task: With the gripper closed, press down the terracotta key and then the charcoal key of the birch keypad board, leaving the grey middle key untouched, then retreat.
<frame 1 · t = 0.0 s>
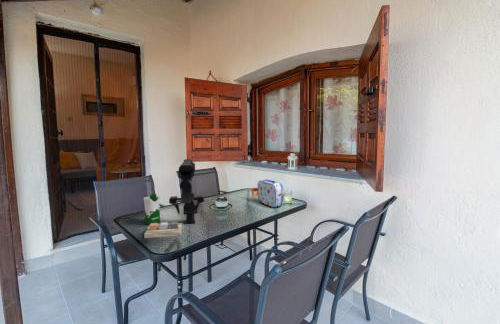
hand: (187, 214, 141), 15 cm above the table, fingers open, 9 cm apart
key grey: (164, 226, 152), point 4 cm above the table, slide at 0.0 cm
key terracotta: (153, 227, 151), point 4 cm above the table, slide at 0.0 cm
keypad board: (164, 232, 152), on the table
milk carton: (152, 223, 168), on the table
key charcoal: (174, 225, 153), point 4 cm above the table, slide at 0.0 cm
lunch box: (270, 205, 211), on the table
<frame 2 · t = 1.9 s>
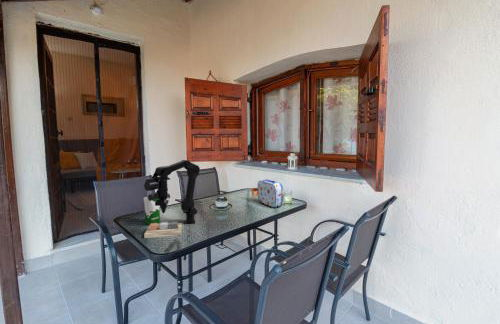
hand: (163, 213, 151), 12 cm above the table, fingers closed
nothing on the table moved.
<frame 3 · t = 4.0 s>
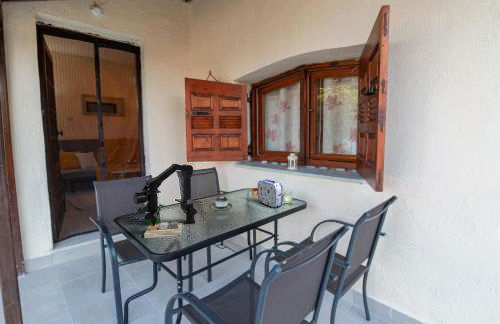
hand: (153, 226, 151), 4 cm above the table, fingers closed, pressing on key terracotta
key terracotta: (153, 228, 151), point 3 cm above the table, slide at 1.0 cm, touching gripper
everything else where it was.
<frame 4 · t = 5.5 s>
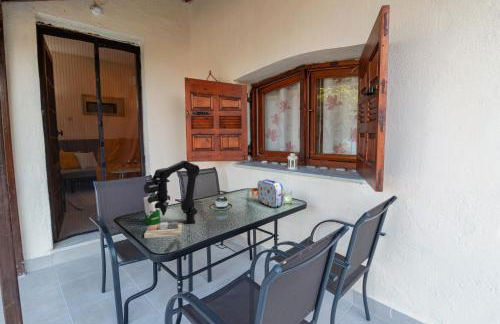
hand: (163, 215, 151), 11 cm above the table, fingers closed
key terracotta: (153, 229, 151), point 2 cm above the table, slide at 1.5 cm
everything else where it was.
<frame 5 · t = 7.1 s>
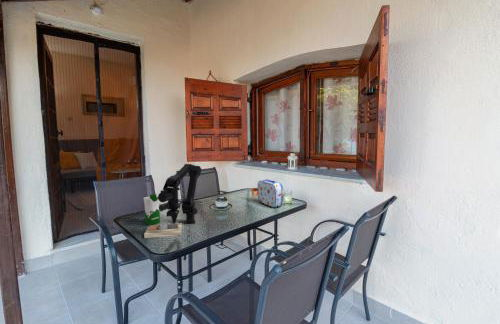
hand: (174, 223, 153), 5 cm above the table, fingers closed, pressing on key charcoal
key charcoal: (174, 225, 153), point 4 cm above the table, slide at 0.1 cm, touching gripper
everything else where it was.
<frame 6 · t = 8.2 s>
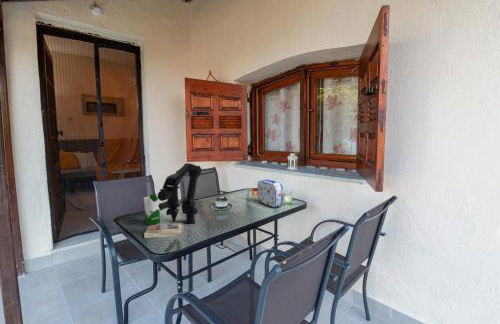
hand: (173, 221, 153), 6 cm above the table, fingers closed
key charcoal: (174, 228, 153), point 2 cm above the table, slide at 1.5 cm
everything else where it was.
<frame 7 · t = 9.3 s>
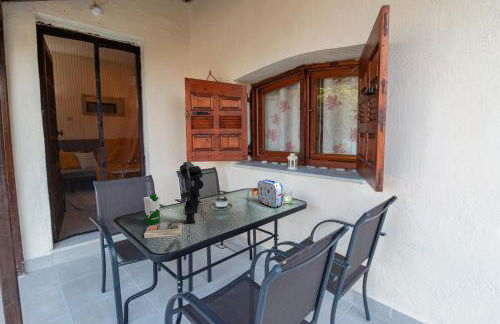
hand: (195, 210, 156), 12 cm above the table, fingers closed
nothing on the table moved.
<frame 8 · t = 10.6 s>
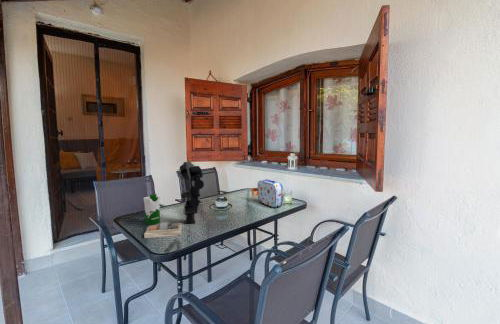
hand: (195, 210, 156), 12 cm above the table, fingers closed
nothing on the table moved.
at the end: key terracotta slide at 1.5 cm; key charcoal slide at 1.5 cm; key grey slide at 0.0 cm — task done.
